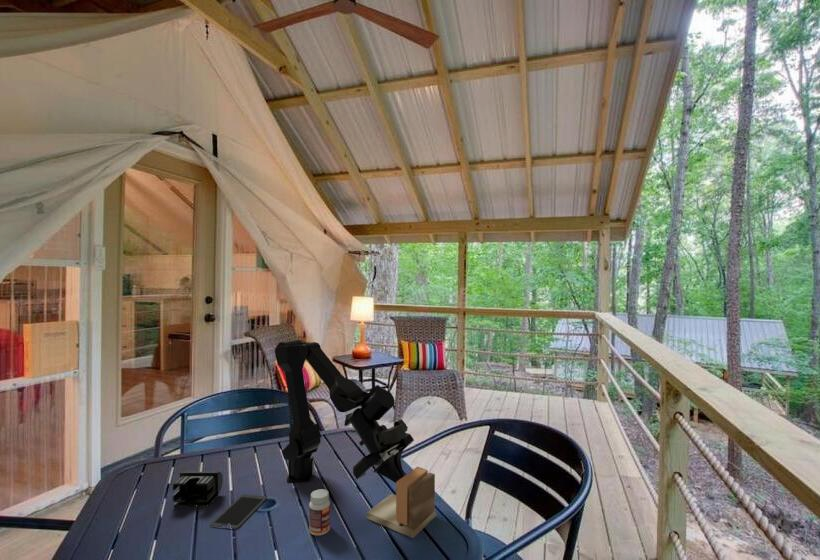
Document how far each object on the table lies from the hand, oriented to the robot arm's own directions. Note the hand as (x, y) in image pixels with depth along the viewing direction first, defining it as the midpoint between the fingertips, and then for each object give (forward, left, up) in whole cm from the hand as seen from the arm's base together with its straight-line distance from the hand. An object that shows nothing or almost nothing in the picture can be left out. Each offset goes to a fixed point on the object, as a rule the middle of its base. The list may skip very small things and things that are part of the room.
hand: (404, 485), depth 98 cm
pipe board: (-1, +1, -8) cm, 8 cm away
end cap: (-54, +11, -8) cm, 55 cm away
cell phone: (-41, +5, -9) cm, 42 cm away
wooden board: (+2, -1, -6) cm, 6 cm away
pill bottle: (-20, -3, -8) cm, 21 cm away
